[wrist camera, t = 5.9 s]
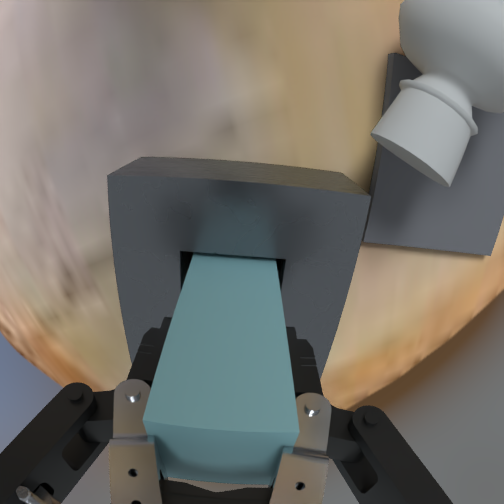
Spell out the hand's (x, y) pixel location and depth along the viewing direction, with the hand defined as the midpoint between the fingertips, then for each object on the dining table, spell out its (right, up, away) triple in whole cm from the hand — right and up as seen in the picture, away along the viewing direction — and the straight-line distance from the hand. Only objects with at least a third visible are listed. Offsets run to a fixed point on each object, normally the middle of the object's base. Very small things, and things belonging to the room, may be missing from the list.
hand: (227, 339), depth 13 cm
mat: (+15, +10, +5) cm, 18 cm away
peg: (0, +3, +6) cm, 6 cm away
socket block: (0, +3, +7) cm, 8 cm away
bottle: (+15, +22, -2) cm, 27 cm away
